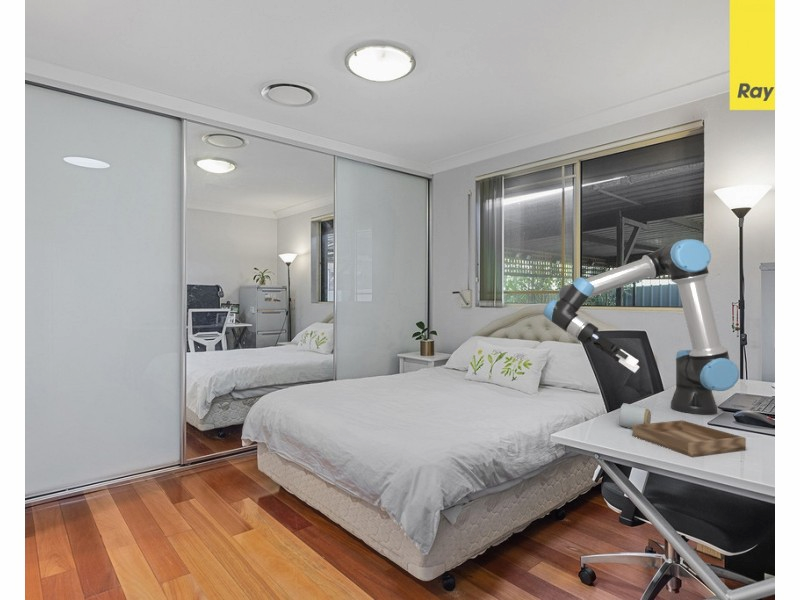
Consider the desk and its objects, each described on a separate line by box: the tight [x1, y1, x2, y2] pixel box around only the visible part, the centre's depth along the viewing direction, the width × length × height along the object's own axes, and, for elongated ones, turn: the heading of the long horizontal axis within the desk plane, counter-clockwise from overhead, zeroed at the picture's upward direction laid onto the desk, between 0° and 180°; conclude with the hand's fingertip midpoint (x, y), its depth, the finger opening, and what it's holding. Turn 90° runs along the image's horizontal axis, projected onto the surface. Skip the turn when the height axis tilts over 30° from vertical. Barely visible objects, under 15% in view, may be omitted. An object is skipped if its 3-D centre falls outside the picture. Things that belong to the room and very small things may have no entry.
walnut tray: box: [632, 420, 747, 458], centre depth 136 cm, size 20×20×4 cm
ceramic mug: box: [618, 402, 652, 429], centre depth 153 cm, size 11×8×8 cm
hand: (637, 367), depth 157 cm, fingers open, 13 cm apart
